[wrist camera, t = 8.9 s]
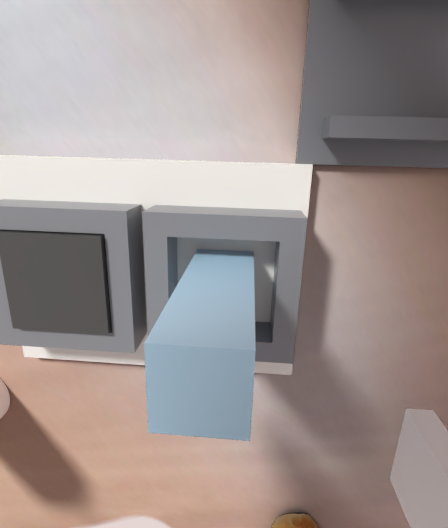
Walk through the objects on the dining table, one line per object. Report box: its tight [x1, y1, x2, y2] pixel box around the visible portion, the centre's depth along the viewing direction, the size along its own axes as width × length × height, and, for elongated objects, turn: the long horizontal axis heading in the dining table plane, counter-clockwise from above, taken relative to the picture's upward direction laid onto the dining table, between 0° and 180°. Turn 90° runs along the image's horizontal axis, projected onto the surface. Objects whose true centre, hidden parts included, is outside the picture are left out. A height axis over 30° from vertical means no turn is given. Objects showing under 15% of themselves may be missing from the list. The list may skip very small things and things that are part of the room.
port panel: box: [0, 155, 313, 375], centre depth 25 cm, size 16×22×4 cm
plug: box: [144, 249, 256, 441], centre depth 19 cm, size 4×4×13 cm
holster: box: [296, 0, 448, 168], centre depth 20 cm, size 12×12×2 cm
